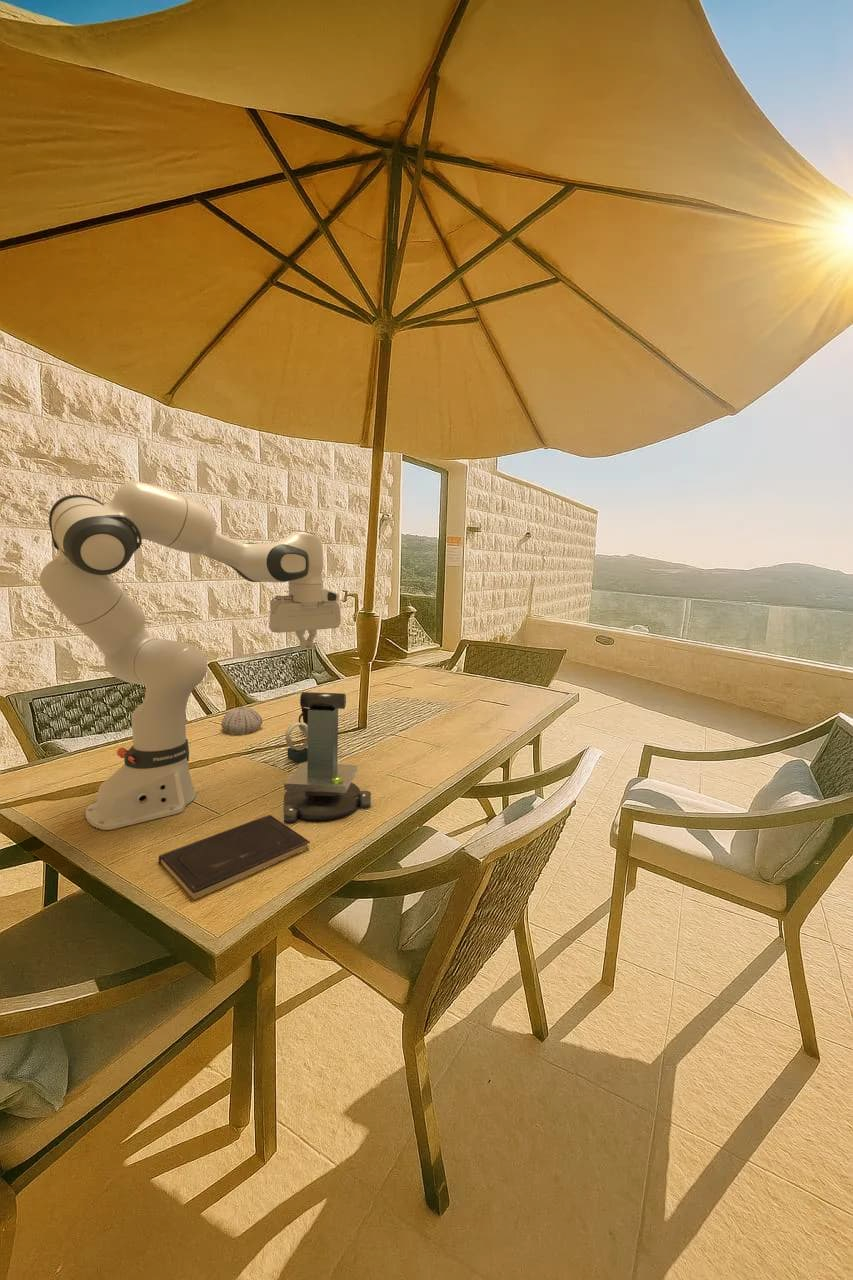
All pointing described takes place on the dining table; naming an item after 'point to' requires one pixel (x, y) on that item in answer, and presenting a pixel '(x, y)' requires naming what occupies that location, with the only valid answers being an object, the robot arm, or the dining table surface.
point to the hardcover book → (231, 855)
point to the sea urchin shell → (241, 720)
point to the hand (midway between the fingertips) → (306, 647)
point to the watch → (300, 751)
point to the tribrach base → (323, 804)
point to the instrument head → (322, 747)
